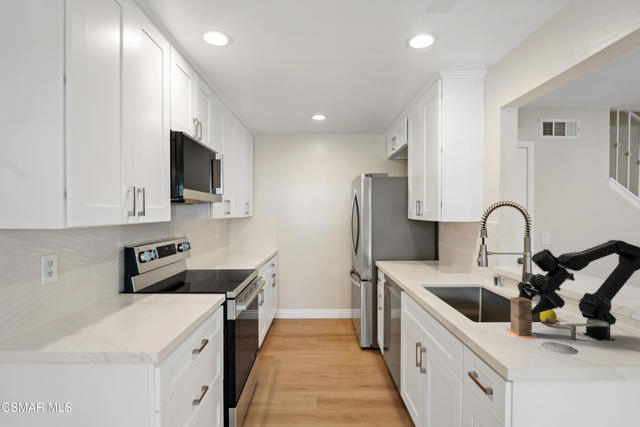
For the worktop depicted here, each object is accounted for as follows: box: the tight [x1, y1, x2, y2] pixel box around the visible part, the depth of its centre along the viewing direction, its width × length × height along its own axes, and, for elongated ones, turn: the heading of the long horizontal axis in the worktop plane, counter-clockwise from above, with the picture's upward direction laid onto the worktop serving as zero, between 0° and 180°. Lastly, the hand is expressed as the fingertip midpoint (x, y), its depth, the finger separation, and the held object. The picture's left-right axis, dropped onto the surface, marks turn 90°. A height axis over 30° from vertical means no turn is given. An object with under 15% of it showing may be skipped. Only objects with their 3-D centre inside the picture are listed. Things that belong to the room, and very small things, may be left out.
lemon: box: [539, 309, 557, 328], centre depth 130 cm, size 6×6×8 cm
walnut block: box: [510, 296, 533, 336], centre depth 118 cm, size 5×5×13 cm
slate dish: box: [540, 341, 579, 355], centre depth 105 cm, size 10×10×1 cm
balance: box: [540, 318, 609, 341], centre depth 113 cm, size 19×6×9 cm, turn 53°
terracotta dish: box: [505, 328, 538, 340], centre depth 118 cm, size 10×10×1 cm
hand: (523, 309), depth 118 cm, fingers open, 9 cm apart
